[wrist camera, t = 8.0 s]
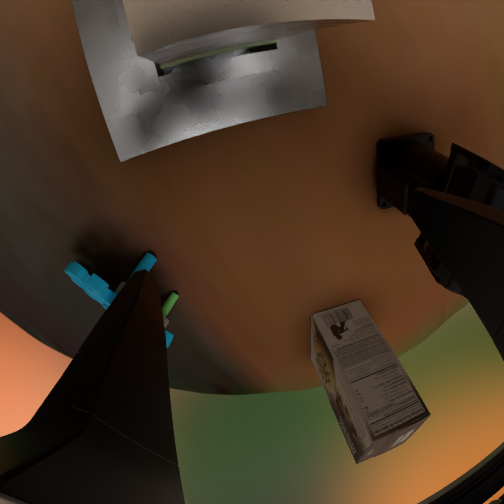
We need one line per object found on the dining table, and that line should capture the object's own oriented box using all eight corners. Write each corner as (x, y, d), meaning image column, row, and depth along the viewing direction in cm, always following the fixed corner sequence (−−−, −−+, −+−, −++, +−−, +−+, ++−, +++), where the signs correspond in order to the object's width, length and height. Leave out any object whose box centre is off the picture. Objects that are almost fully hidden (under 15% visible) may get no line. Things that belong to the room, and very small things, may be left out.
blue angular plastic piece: (44, 264, 19) (96, 301, 14) (87, 209, 22) (157, 218, 17) (124, 331, 27) (195, 373, 22) (155, 284, 30) (230, 311, 24)
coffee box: (353, 343, 38) (405, 442, 25) (309, 358, 37) (354, 466, 24) (361, 297, 32) (434, 414, 19) (309, 313, 32) (372, 446, 19)
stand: (279, -65, 11) (318, -102, 5) (318, 102, 19) (368, 120, 14) (74, -17, 10) (35, -43, 5) (124, 155, 18) (102, 193, 13)
